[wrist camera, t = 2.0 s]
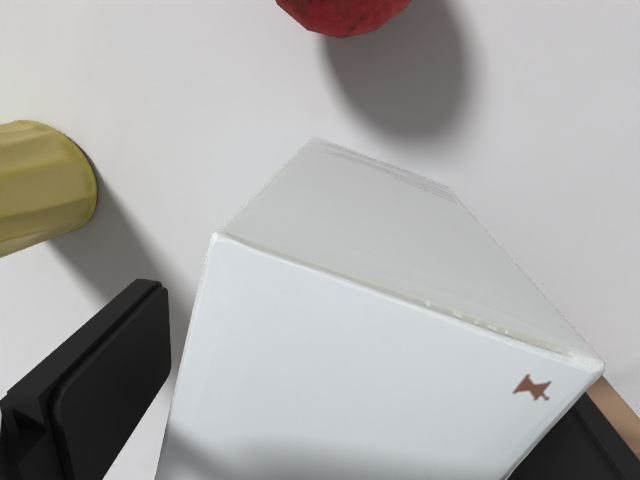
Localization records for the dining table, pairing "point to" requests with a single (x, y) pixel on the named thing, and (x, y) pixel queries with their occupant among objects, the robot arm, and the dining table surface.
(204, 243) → the dining table surface
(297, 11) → the red oval fruit
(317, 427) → the supplement box
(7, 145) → the vase
